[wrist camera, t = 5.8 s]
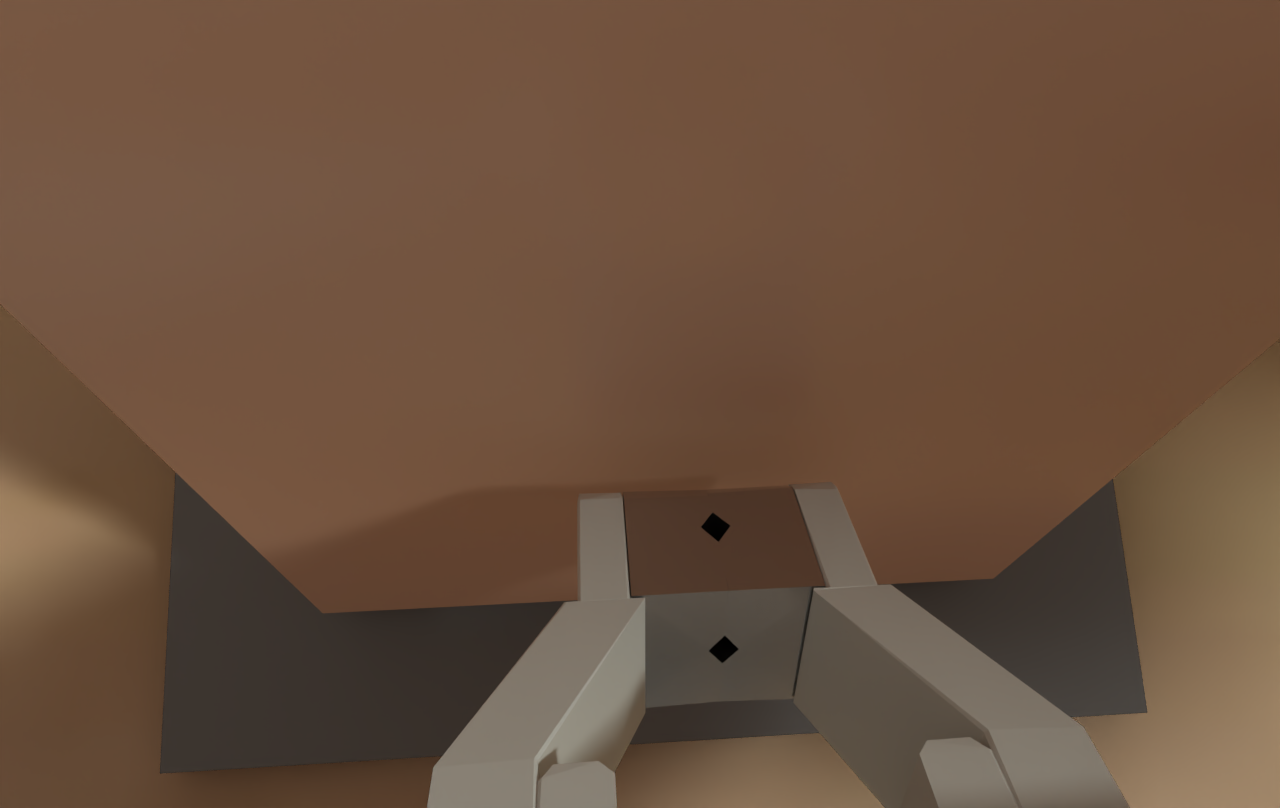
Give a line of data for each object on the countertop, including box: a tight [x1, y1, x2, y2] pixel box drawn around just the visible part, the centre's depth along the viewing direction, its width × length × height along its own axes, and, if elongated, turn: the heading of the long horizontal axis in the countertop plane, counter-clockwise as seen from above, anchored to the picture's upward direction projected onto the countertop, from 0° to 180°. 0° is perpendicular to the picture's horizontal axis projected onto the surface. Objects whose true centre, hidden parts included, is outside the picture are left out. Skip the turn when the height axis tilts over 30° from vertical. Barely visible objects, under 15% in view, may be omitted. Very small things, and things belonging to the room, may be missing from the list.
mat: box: [160, 473, 1147, 773], centre depth 17 cm, size 18×20×1 cm
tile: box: [0, 0, 1280, 613], centre depth 10 cm, size 12×2×12 cm, turn 93°
